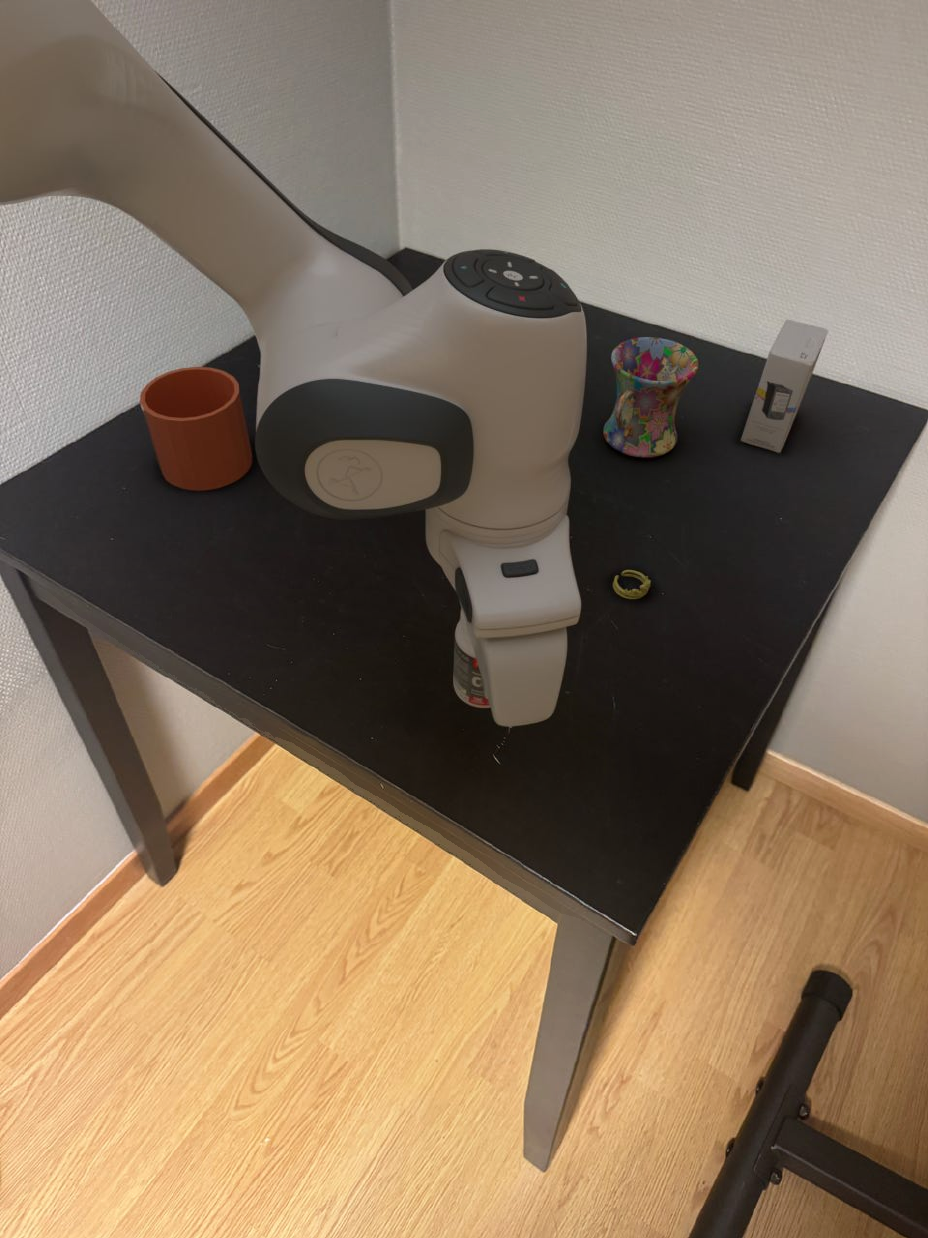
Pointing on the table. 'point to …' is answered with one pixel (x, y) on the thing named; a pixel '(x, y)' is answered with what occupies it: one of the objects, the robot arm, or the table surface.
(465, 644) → the pill bottle
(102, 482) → the table surface
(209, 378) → the cup
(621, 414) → the mug
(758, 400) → the ink box
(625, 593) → the ring
